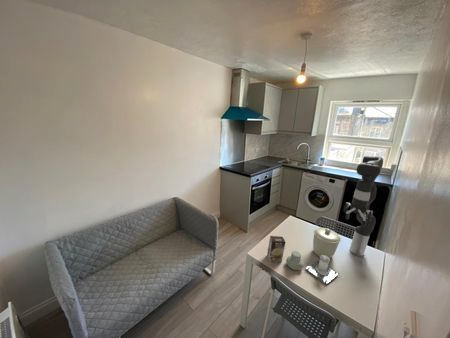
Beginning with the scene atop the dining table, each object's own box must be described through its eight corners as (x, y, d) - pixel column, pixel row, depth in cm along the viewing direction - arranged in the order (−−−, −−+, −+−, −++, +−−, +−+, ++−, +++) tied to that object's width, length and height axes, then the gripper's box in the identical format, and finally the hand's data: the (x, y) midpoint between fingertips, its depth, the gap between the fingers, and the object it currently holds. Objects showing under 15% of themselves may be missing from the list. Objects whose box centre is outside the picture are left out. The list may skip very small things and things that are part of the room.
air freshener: (298, 261, 133) (300, 249, 131) (304, 270, 125) (307, 257, 123) (283, 262, 131) (285, 249, 129) (289, 271, 124) (291, 258, 121)
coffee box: (269, 261, 131) (272, 241, 127) (266, 255, 137) (269, 235, 133) (282, 262, 132) (285, 241, 127) (279, 255, 138) (282, 236, 134)
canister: (329, 247, 151) (335, 223, 145) (340, 264, 133) (347, 238, 128) (306, 244, 152) (311, 221, 147) (314, 260, 135) (320, 234, 129)
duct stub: (315, 268, 124) (318, 257, 122) (320, 265, 128) (323, 254, 125) (324, 274, 120) (326, 262, 118) (328, 271, 123) (331, 259, 121)
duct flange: (317, 262, 134) (317, 259, 133) (337, 275, 123) (338, 272, 122) (305, 269, 126) (306, 267, 125) (326, 285, 115) (327, 282, 114)
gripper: (345, 194, 114) (339, 218, 119) (373, 203, 103) (365, 230, 107) (350, 192, 119) (345, 215, 123) (378, 200, 107) (371, 226, 112)
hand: (354, 222), depth 115 cm, fingers open, 8 cm apart
